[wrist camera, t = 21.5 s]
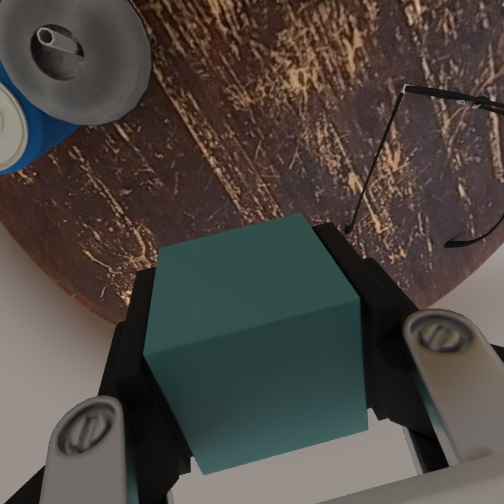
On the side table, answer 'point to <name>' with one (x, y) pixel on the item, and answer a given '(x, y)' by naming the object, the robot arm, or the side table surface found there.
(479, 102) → the eyeglasses
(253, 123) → the side table surface
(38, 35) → the beverage cup
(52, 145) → the beverage can
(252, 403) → the block
